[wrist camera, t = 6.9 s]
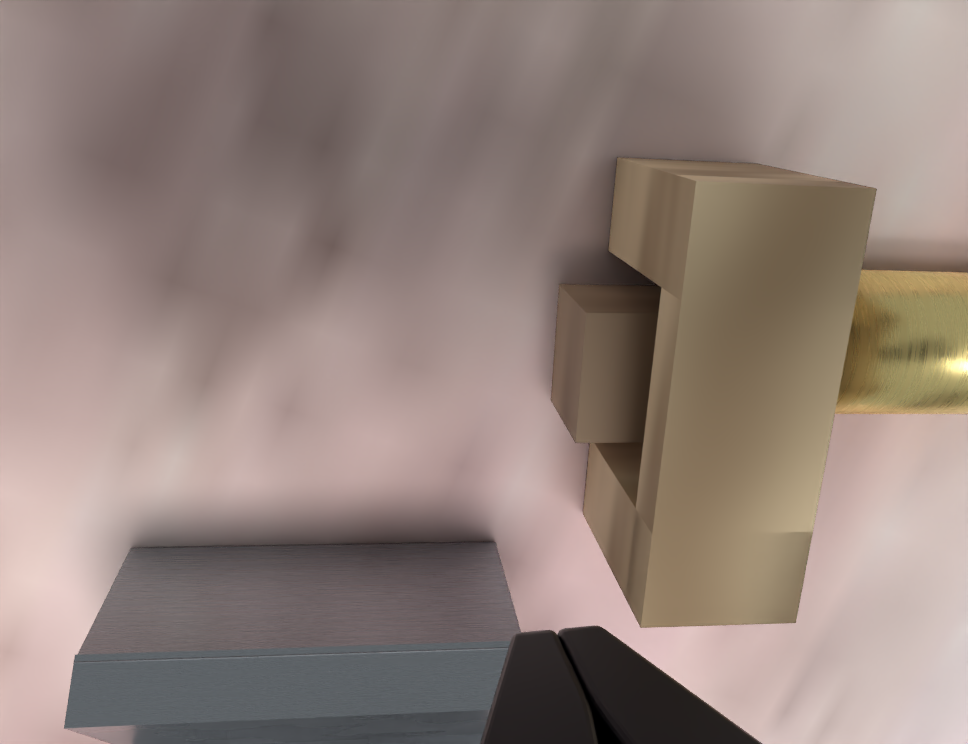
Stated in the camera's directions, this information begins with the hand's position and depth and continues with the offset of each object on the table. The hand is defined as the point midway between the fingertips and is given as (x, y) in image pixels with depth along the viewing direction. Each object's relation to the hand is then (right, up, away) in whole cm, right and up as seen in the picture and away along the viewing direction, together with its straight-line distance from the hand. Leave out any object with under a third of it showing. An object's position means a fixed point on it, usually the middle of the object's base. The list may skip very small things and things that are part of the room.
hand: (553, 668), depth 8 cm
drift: (+3, +3, +11) cm, 12 cm away
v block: (-5, -5, +13) cm, 14 cm away
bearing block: (+3, +3, +11) cm, 12 cm away
